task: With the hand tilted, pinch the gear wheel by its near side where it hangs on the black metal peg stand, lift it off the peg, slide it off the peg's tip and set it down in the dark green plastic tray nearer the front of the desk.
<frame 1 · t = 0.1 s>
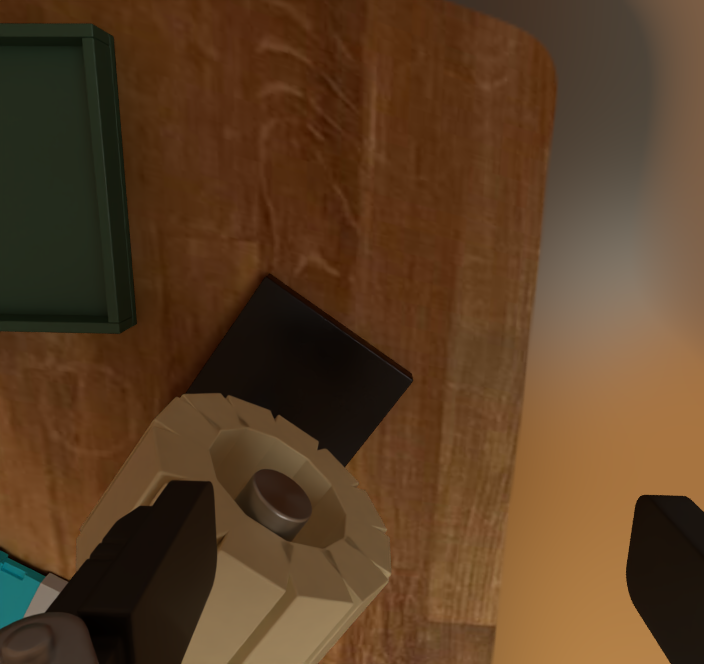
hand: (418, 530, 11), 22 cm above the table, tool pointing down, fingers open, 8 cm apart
hook stand: (220, 489, 35), on the table
gear wheel: (242, 534, 18), point 16 cm above the table, touching hook stand
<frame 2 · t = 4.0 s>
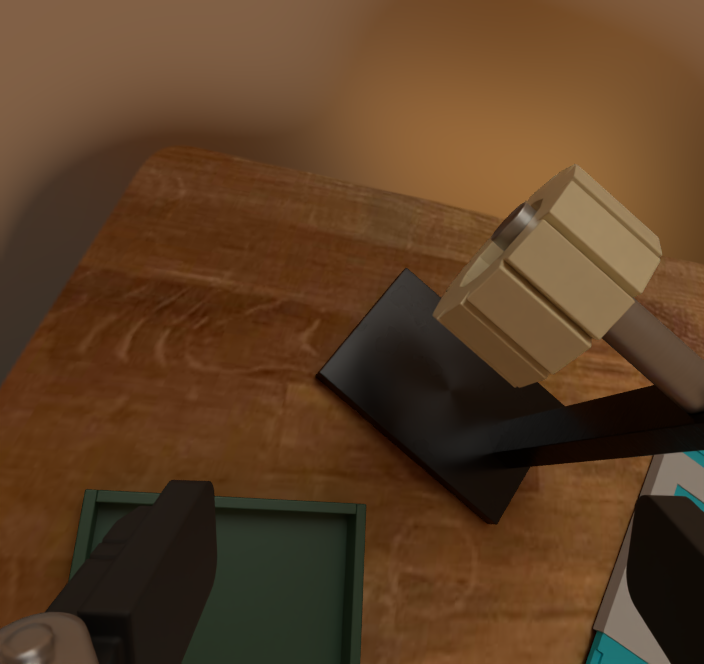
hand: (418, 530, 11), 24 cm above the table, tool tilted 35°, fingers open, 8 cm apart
tray: (215, 642, 31), on the table
hook stand: (501, 445, 39), on the table
gear wheel: (538, 278, 24), point 16 cm above the table, touching hook stand
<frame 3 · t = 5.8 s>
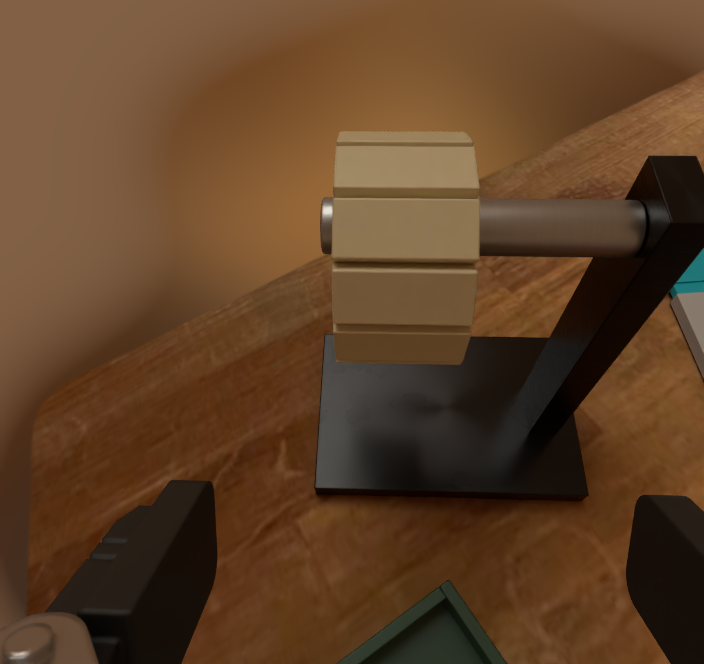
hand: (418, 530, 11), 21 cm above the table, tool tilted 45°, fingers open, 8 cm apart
hook stand: (534, 417, 34), on the table
gear wheel: (398, 251, 21), point 16 cm above the table, touching hook stand
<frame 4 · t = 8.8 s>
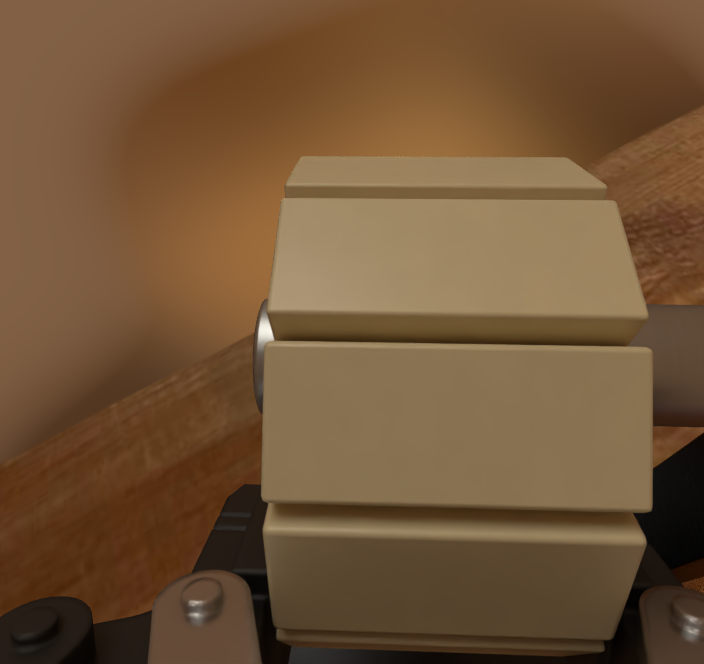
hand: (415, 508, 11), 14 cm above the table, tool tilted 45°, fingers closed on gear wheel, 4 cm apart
hook stand: (605, 557, 24), on the table
gear wheel: (422, 394, 11), point 16 cm above the table, touching gripper, hook stand
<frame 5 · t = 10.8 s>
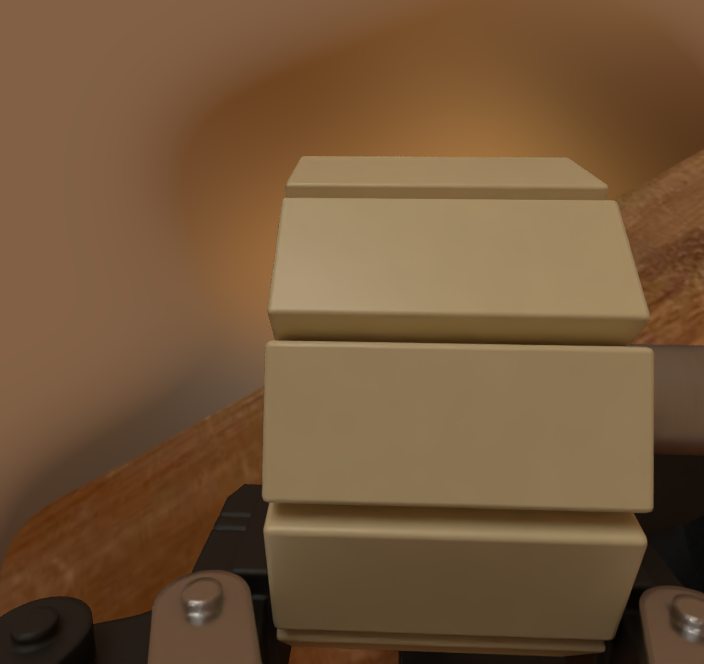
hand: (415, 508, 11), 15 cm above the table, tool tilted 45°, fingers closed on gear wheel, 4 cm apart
hook stand: (697, 566, 25), on the table
gear wheel: (423, 394, 11), point 17 cm above the table, touching gripper
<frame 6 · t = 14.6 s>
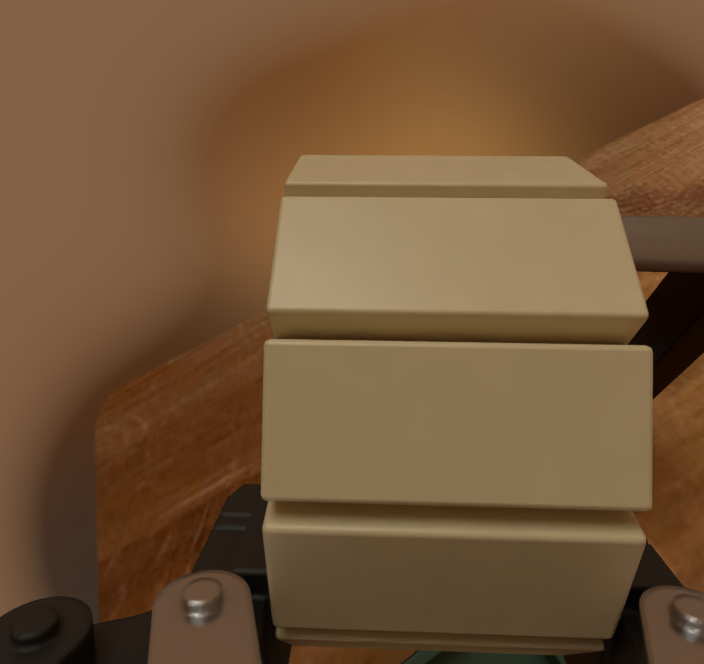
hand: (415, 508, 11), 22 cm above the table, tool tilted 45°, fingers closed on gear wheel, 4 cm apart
hook stand: (585, 421, 35), on the table
gear wheel: (422, 393, 11), point 23 cm above the table, touching gripper
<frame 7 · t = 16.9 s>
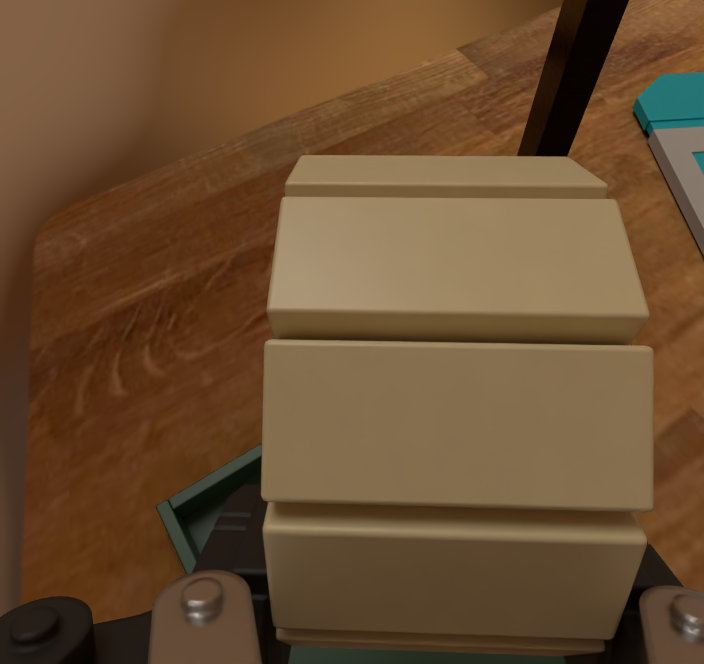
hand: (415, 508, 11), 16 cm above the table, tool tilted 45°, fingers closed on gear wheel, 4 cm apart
tray: (390, 567, 26), on the table
hook stand: (514, 233, 36), on the table
gear wheel: (423, 394, 11), point 18 cm above the table, touching gripper
when the fingers open (3 cm above the table, at t = 20.9 s): gear wheel stays where it is, resting on tray.
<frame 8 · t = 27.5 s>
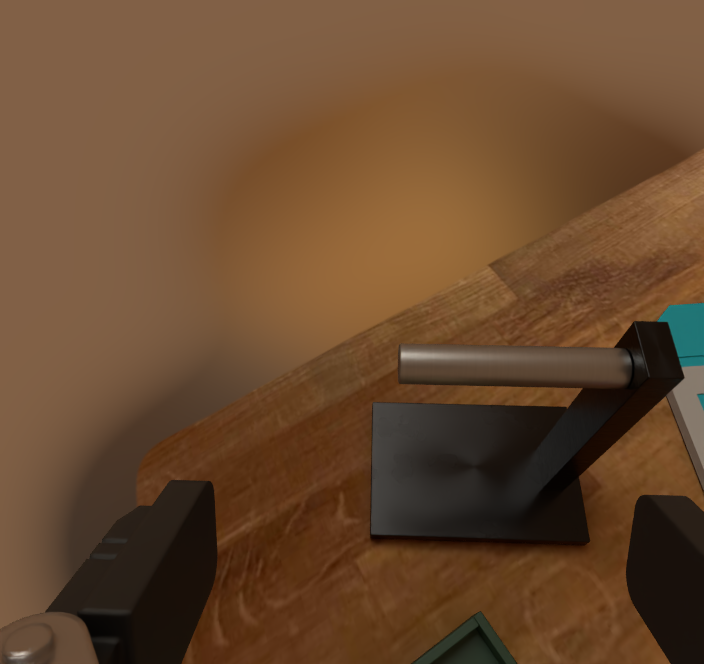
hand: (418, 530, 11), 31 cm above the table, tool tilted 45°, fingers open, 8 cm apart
hook stand: (545, 474, 42), on the table
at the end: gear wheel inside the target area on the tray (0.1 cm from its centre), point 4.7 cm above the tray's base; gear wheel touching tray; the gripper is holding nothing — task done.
